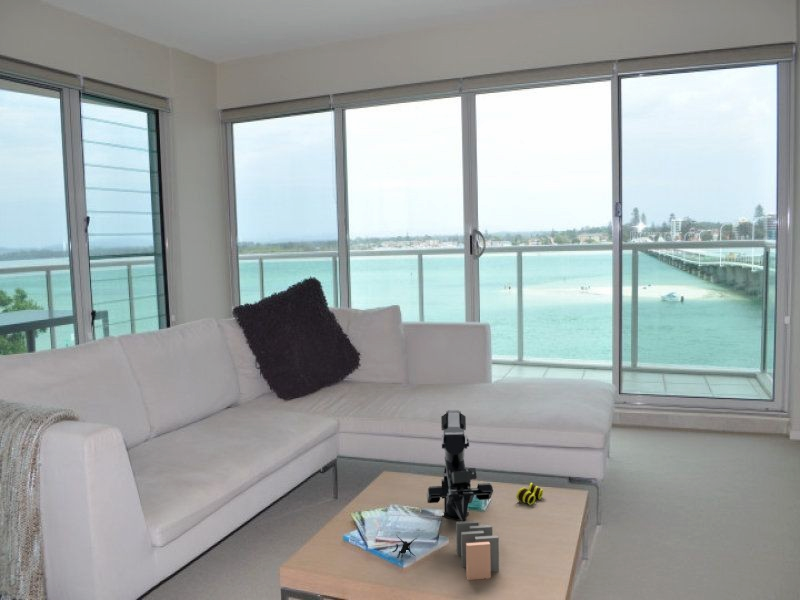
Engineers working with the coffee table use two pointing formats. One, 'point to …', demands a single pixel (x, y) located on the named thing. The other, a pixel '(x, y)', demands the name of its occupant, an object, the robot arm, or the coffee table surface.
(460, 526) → the domino
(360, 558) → the coffee table surface
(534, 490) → the opera glasses
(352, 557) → the coffee table surface
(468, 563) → the end domino
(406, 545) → the creature
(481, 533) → the domino
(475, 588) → the coffee table surface
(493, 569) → the domino
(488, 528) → the domino
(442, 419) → the robot arm
